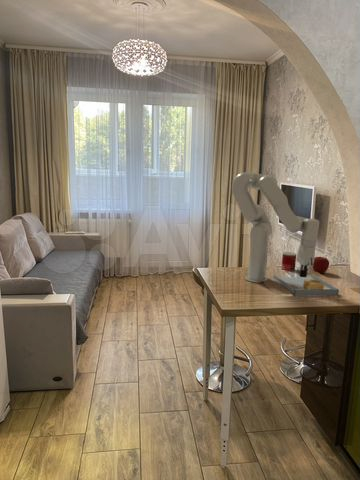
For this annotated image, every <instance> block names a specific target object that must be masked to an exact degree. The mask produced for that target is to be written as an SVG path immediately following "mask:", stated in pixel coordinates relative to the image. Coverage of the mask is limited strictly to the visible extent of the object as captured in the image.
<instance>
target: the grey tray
mask: <svg viewBox="0 0 360 480" xmlns="http://www.w3.org/2000/svg"><path fill="white" fill-rule="evenodd" d="M272 277H273V279H274V280H275V281H277V282H278V283H279V284H280V285H282V286H283V287H284V288H286V289H288V290H289V291H290V292H291V293H290V294H291V295H292V296H294V297H313V296H314V297H315V296H316V297H318V296H319V297H320V296H339V293H340V290H339V288H337V287H335V286H334V285H332V284H330V282H329V283H328V282H327V281H325V280H324V279H322V278H320V277H318V276H316V275H315V274H314V273H311V276H307V277H300V276H299V277H296V276H295V277H279V276H277V274H273V276H272ZM315 279H317V280H318V281H320V282H322V283H323V284H324V287H325V288H323V289H304V288H303V284H304V280H315ZM290 284H291V285H293V286H291V285H290ZM294 287H295V288H294Z"/></svg>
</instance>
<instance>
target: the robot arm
mask: <svg viewBox="0 0 360 480" xmlns="http://www.w3.org/2000/svg"><path fill="white" fill-rule="evenodd" d="M249 189H255V190H259V191H260V192H261V193H262V194H263V196H264V197H265V199H267V201H268V202H269V204H270V205H271V207H272V209H273V211H274V212H275V214H276V216H277V217H278V219H279V221H280V222H281V223H282V225H283V226H284V227H285V229H286V230H287V231H288V232H289V233H297V232H299V231H302V232H301V240H300V244H299V246H298V250H297V253H296V262H297V263H299V267H300V271H299V277H308V271H309V269H312V267H313V263H314V258H315V257H316V256H315V255H316V246H317V242H318V240H317V239H318V234H319V228H320V220H318V219H316V218H306V217H303V216H300V215H299V216H298V215H296V214H295V212H293V210H292V209H291V206H290V204H289V200H288V197H287V195H286V194H285V193H284V192H283V190H282V189H281V188H280V186H279V185H278V180H277V178H275V176H273V175H268V174H267V175H266V174H262V173H256V172H249V171H248V172H241V173H239V174H237V175H236V177H234V179H233V181H232V184H231V193H232V195H233V198H234V199H235V201H236V204H237V206H238V208H239V210H240V212H241V214H242V217H243V218H244V220H245V222H247V223H251V224H252V227H251V229H250V231H249V259H248V274H247V275H245V277H244V280H246V281H248V282H252V283H259V284H260V283H261V284H262V283H264V282H265V281H268V280H269V278H268V277H267V276H266V275H267V274H266V273H267V266H268V265H267V263H268V249H269V237H270V236H272V233H273V225H272V223H271V221H270V218H268V216H267V213H266V211H265V209H264V208H263V206H261V205H260V204H257V203H255V200H254V199H253V196H252V195H251V193H250V192H249Z"/></svg>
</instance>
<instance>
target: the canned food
mask: <svg viewBox="0 0 360 480" xmlns="http://www.w3.org/2000/svg"><path fill="white" fill-rule="evenodd" d="M281 258H282V260H281V271H289V272H292V271H293V272H294V271H296V262H297V253H296V252H292V251H283V252H282V257H281Z"/></svg>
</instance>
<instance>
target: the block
mask: <svg viewBox="0 0 360 480" xmlns="http://www.w3.org/2000/svg"><path fill="white" fill-rule="evenodd" d="M324 287H325V286H324V284H323V283H322V282H320V281H318V280H317V279H315V280H304V284H303V288H304V289H323V288H324Z"/></svg>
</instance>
